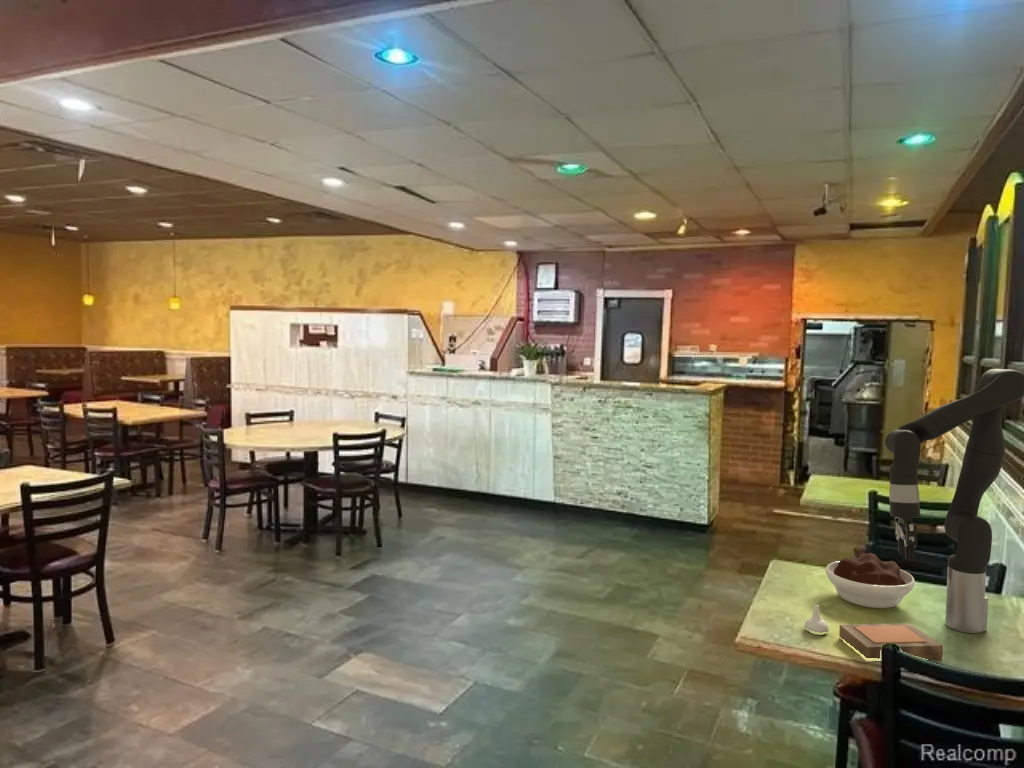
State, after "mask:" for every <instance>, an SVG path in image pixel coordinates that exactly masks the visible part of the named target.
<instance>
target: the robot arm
mask: <svg viewBox="0 0 1024 768" xmlns="http://www.w3.org/2000/svg"><path fill="white" fill-rule="evenodd" d="M976 389H977V391H976V392H974V393H972V394H970V395H968V396H965V397H962V398H959V399H957V400H953V401H950V402H948V403H945V404H943V405H941V406H939V407H936V408H935V409H933V410H931V411H929V412H928V413H925V414H923V415H922V416H920V417H919V418H918V419H915V420H913V421H911V422H908V423H906V424H904V425H901V426H898V427H897V428H895V429H892V430H891V431H889V433H887V435H886V436H885V439H884V445H885V447H886V448H887V450H888V451H889V452H891V453H892V454H893V463H892V464H891V465H890V466H889V472H888V473H889V491H888V493H889V498H888V499H889V515H890V517H894V529H895V530H894V537H895V538H896V540H897V550H898V551H897V552H898V554H899V555H900V556H905V560H906V561H909V562H910V561H912V562H913V561H916V547H918V532H917V531H918V530H917V524H916V523H913V522H914V521H913V519H918V518H920V517H921V503H920V502H921V501H920V500H921V499H920V490H919V480H918V479H919V477H918V476H919V475H918V474H919V473H918V466H919V462H920V458H921V457H920V456H921V444H922V443H924V442H926V441H932V440H935V439H937V438H940V437H942V436H943V435H944V434H947V433H948V432H950V431H952V430H954V429H956V428H957V427H959V426H961V425H963V424H964V423H966V422H968V421H971V420H972V423H971V427H970V430H969V431H970V432H969V436H968V440H967V443H966V446H965V450H964V455H963V459H962V463H961V468H960V472H959V476H958V478H957V479H958V480H957V483H956V488H955V491H954V495H953V498H952V501H951V503H950V505H949V507H948V511H947V513H946V515H945V520H944V523H943V524H944V525H943V527H944V531H945V534H946V535H947V537H948V538H949V539H951V540H953V541H954V542H957V543H956V549H955V550H956V551H955V554H951V555H949V556H948V558H947V575H946V579H947V580H946V596H945V597H946V598H945V599H946V600H945V625H946V626H947V627H949V629H953V630H954V631H955V630H956V631H958V632H962V633H967V634H981V633H983V632H986V631H987V630H988V612H989V611H988V610H989V609H988V608H989V598H988V597H987V596H986V579H987V577H986V575H987V567H988V565H989V563H990V559H991V553H992V544H993V531H992V527H991V524H990V523H989V522H988V521H987V520H986V519H985V518H983V517H981V516H979V515H978V514H979V513H978V512H979V509H980V504H981V501H982V498H983V496H984V494H985V493H986V492H987V490H988V489H989V488H990V487H991V486H992V484H993V483H994V482H995V480H996V479H997V477H998V476H999V475H1000V473H1001V469H1002V465H1003V463H1004V462H1003V461H1004V457H1005V453H1006V444H1005V443H1006V442H1005V437H1004V436H1005V435H1004V432H1003V426H1002V420H1003V413H1004V409H1005V406H1006V405H1009V404H1012V403H1015V402H1017V401H1020V400H1021V399H1022V398H1024V373H1023V372H1020V371H1018V370H1014V369H1006V368H1005V369H1004V368H991V369H988V370H986V371H985V372H984V373H983V374H982V375H981V376H980V378H979V381H978V384H977V388H976Z"/></svg>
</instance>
